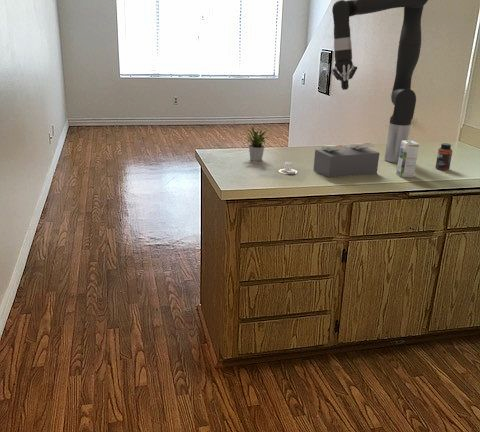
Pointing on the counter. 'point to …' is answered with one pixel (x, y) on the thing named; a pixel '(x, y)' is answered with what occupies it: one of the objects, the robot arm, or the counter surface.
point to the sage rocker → (333, 147)
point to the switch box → (346, 162)
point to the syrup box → (407, 158)
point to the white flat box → (362, 145)
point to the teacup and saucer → (288, 169)
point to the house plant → (256, 144)
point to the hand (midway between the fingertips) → (345, 89)
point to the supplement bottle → (444, 157)
